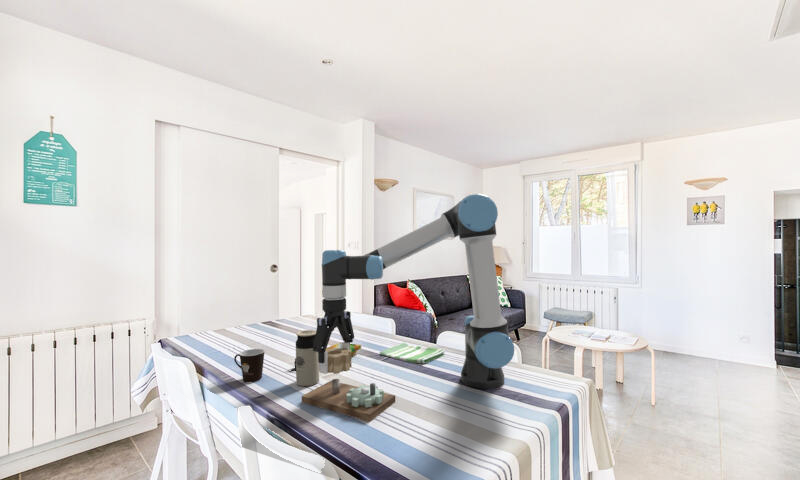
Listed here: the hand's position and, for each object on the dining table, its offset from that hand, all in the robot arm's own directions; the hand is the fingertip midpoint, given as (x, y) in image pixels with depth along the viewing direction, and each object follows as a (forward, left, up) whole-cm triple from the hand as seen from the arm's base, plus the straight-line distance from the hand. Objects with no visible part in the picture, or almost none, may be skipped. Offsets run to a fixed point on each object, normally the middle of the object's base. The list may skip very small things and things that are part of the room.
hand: (335, 367), depth 115 cm
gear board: (-5, 0, -10) cm, 11 cm away
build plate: (+31, -16, -11) cm, 37 cm away
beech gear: (0, 0, 0) cm, 0 cm away
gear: (-12, 0, -8) cm, 14 cm away
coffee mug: (+40, +1, -10) cm, 41 cm away
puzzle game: (+26, -32, -11) cm, 43 cm away
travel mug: (+18, -6, -10) cm, 22 cm away
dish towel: (-1, -51, -11) cm, 52 cm away
